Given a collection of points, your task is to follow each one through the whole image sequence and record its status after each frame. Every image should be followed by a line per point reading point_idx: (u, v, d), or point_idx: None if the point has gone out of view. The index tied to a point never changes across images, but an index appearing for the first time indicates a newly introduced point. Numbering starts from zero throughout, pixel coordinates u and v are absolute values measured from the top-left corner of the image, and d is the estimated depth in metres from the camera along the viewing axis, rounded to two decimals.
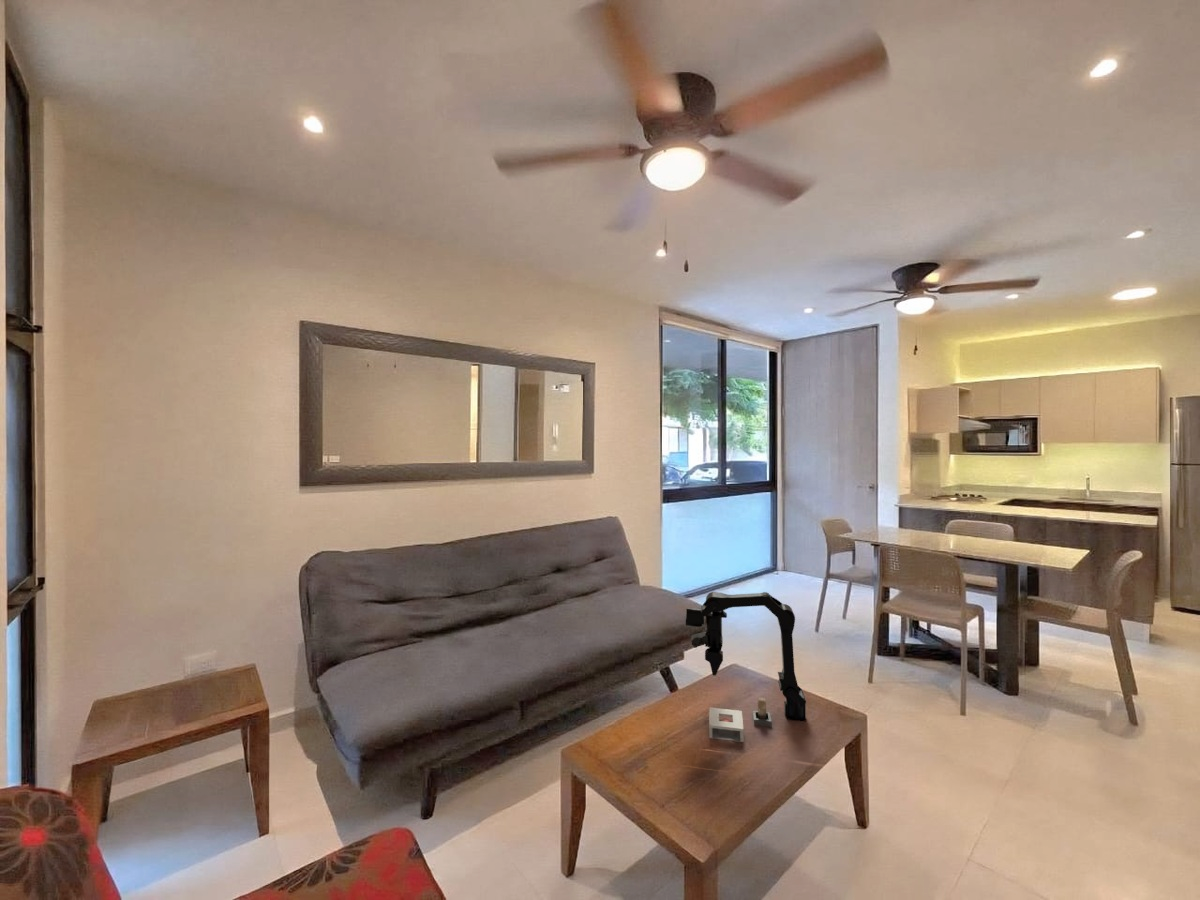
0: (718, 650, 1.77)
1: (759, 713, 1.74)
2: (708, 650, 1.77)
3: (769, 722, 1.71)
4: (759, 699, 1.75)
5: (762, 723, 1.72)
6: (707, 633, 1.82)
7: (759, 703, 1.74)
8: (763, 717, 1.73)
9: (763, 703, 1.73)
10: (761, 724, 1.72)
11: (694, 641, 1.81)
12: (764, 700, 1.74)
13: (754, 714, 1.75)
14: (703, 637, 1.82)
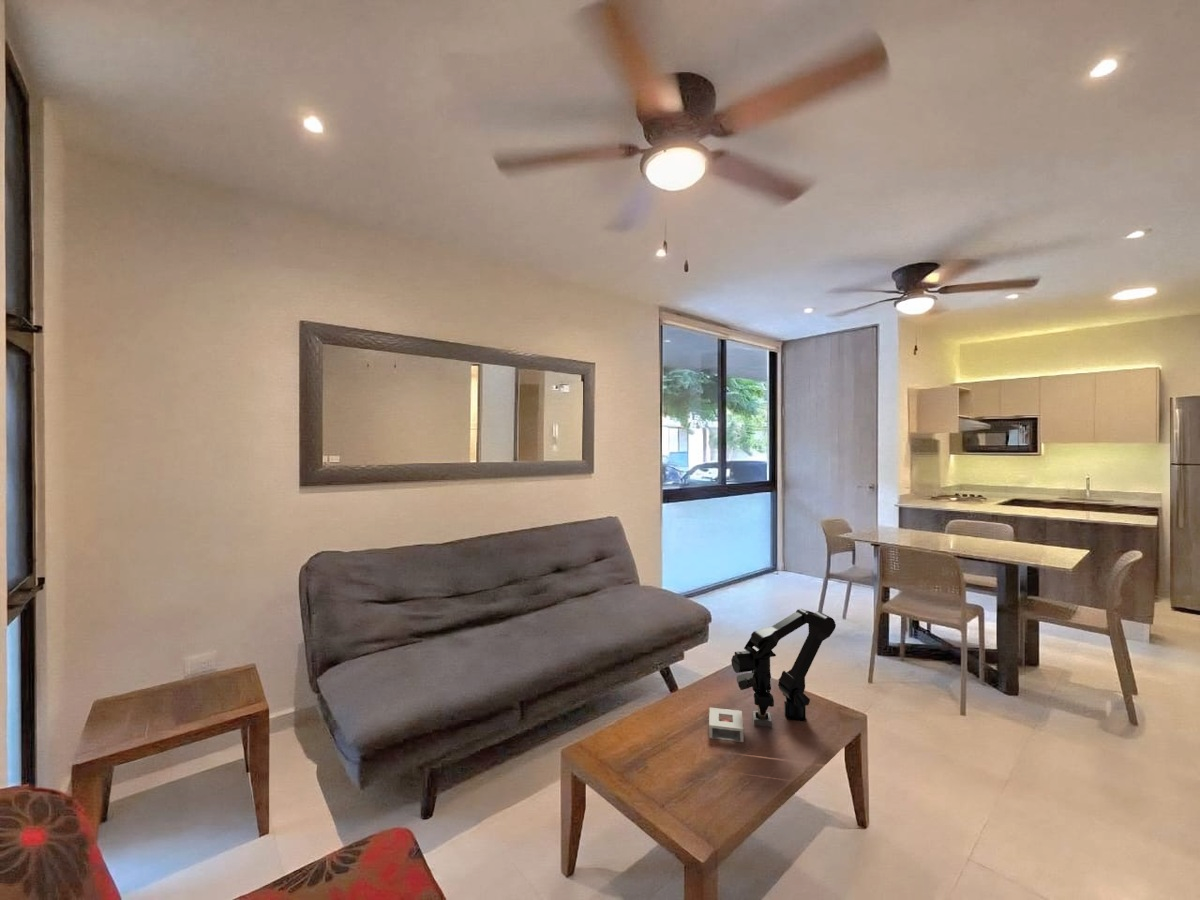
0: (768, 694, 1.67)
1: (759, 713, 1.74)
2: (757, 694, 1.68)
3: (769, 722, 1.71)
4: None
5: (762, 723, 1.72)
6: (755, 675, 1.72)
7: None
8: (763, 717, 1.73)
9: None
10: (761, 724, 1.72)
11: (741, 683, 1.72)
12: None
13: (754, 714, 1.75)
14: (751, 679, 1.73)
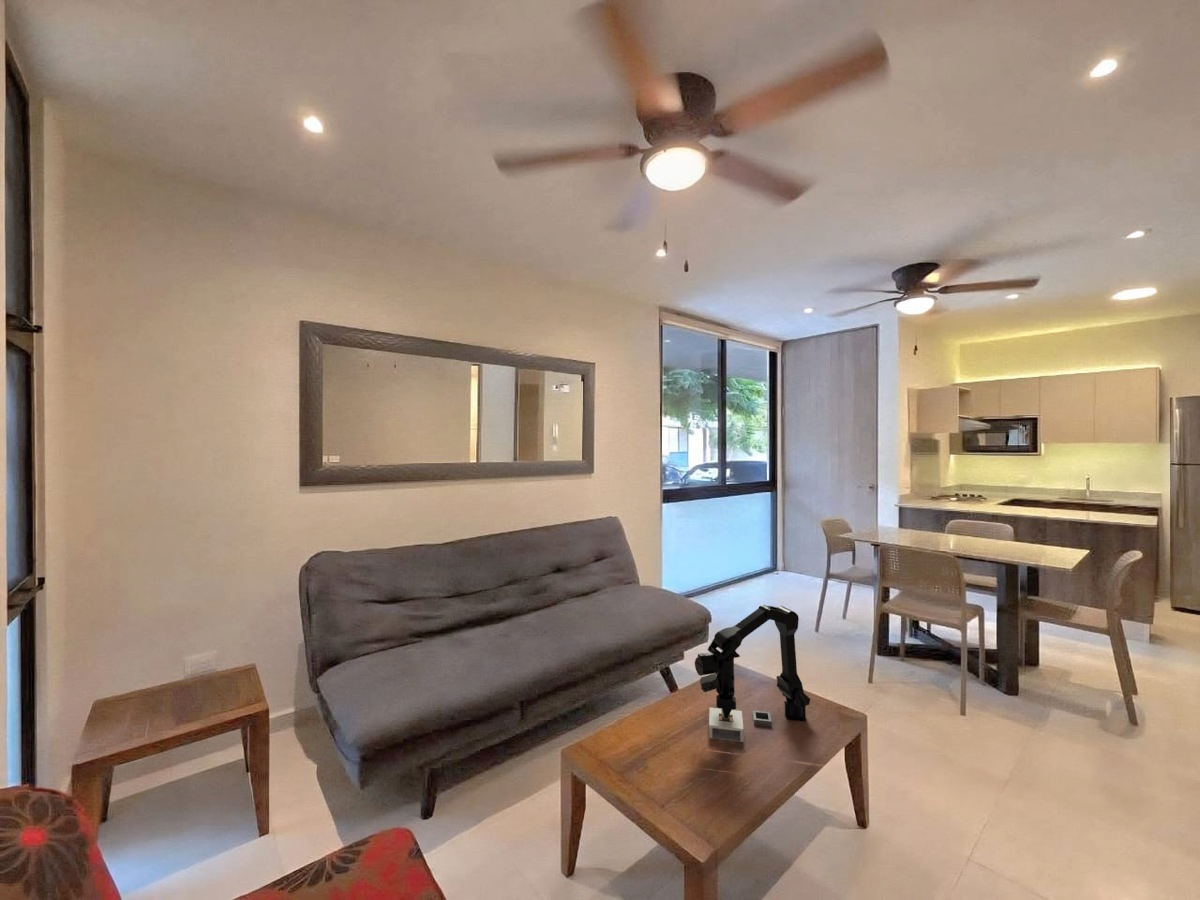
0: (730, 696, 1.62)
1: (723, 716, 1.68)
2: (720, 696, 1.62)
3: (769, 722, 1.71)
4: None
5: (762, 723, 1.72)
6: (718, 676, 1.67)
7: None
8: (727, 720, 1.68)
9: None
10: (761, 724, 1.72)
11: (704, 685, 1.66)
12: None
13: (754, 714, 1.75)
14: (714, 681, 1.68)
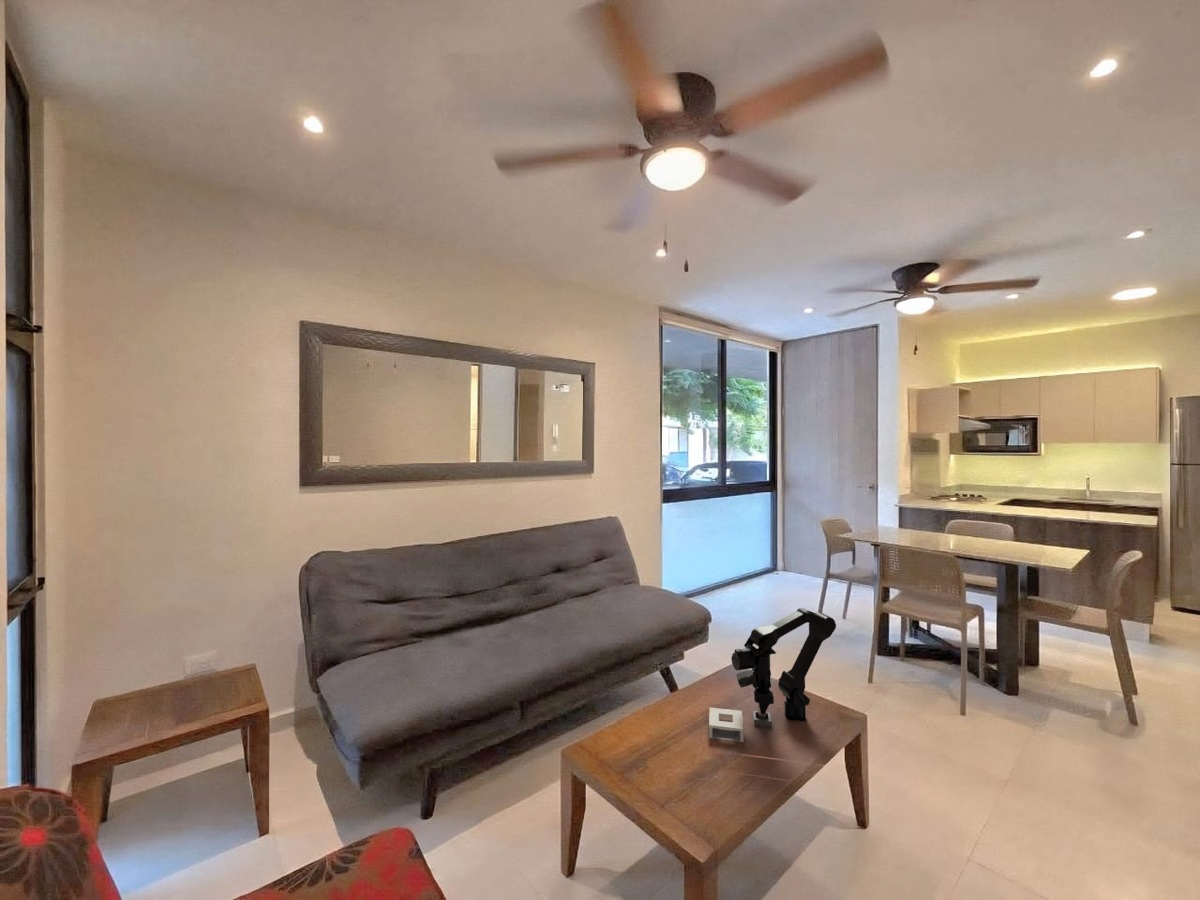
0: (768, 691, 1.67)
1: (759, 713, 1.74)
2: (757, 691, 1.68)
3: (769, 722, 1.71)
4: None
5: (762, 723, 1.72)
6: (755, 672, 1.72)
7: None
8: (763, 717, 1.73)
9: None
10: (761, 724, 1.72)
11: (741, 681, 1.72)
12: None
13: (754, 714, 1.75)
14: (751, 676, 1.73)
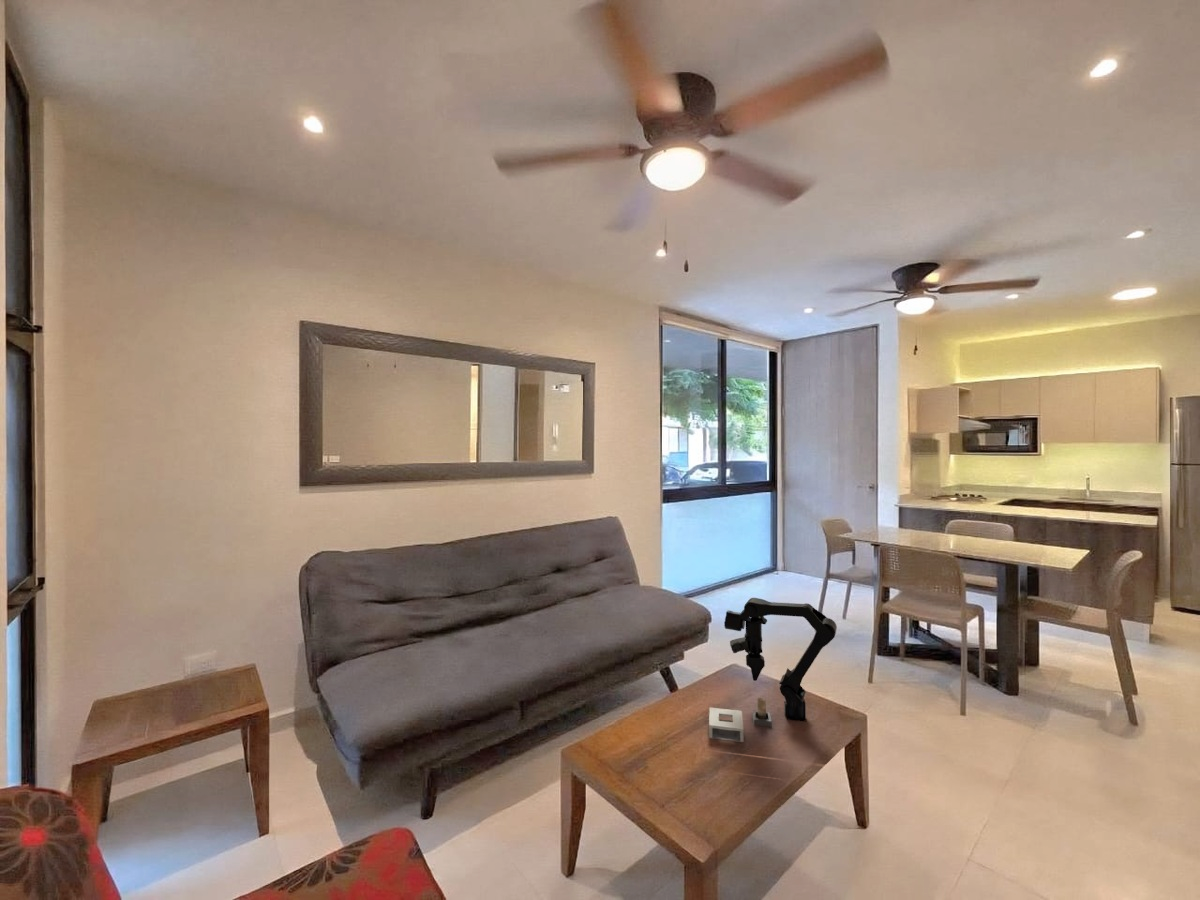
0: (759, 656, 1.77)
1: (759, 713, 1.74)
2: (749, 656, 1.77)
3: (769, 722, 1.71)
4: (759, 699, 1.75)
5: (762, 723, 1.72)
6: (747, 638, 1.82)
7: (759, 703, 1.74)
8: (763, 717, 1.73)
9: (762, 703, 1.73)
10: (761, 724, 1.72)
11: (734, 646, 1.82)
12: (764, 700, 1.74)
13: (754, 714, 1.75)
14: (743, 642, 1.83)
